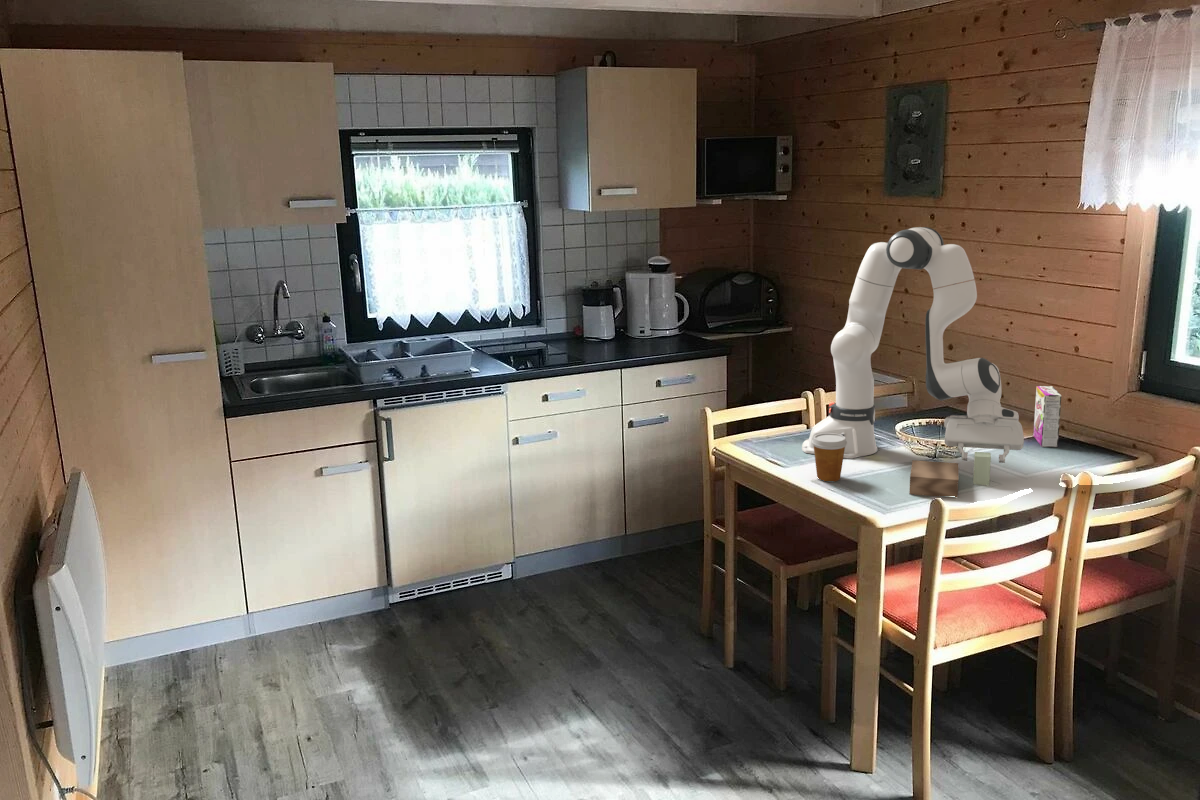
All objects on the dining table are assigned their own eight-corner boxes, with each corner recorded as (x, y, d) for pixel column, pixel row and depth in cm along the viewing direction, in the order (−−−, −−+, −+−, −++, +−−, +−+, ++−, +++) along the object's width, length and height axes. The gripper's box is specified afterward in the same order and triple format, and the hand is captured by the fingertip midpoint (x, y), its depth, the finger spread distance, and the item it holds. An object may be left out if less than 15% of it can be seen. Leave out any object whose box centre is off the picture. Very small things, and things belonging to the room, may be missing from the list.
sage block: (973, 484, 258) (974, 456, 256) (973, 479, 262) (974, 451, 260) (989, 485, 257) (990, 457, 255) (988, 480, 260) (990, 452, 258)
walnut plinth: (909, 494, 253) (910, 476, 251) (911, 477, 265) (912, 460, 264) (957, 497, 248) (958, 479, 247) (957, 480, 261) (958, 463, 260)
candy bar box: (1031, 436, 296) (1035, 385, 292) (1049, 437, 295) (1053, 385, 291) (1040, 447, 286) (1044, 394, 282) (1058, 447, 285) (1062, 394, 281)
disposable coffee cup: (809, 472, 272) (810, 432, 269) (843, 472, 271) (844, 432, 268) (813, 484, 263) (813, 442, 260) (848, 483, 262) (849, 442, 259)
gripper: (944, 409, 266) (942, 453, 259) (1024, 412, 259) (1024, 457, 252) (944, 420, 271) (942, 463, 264) (1022, 424, 264) (1022, 468, 257)
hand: (983, 460), depth 258 cm, fingers open, 8 cm apart
